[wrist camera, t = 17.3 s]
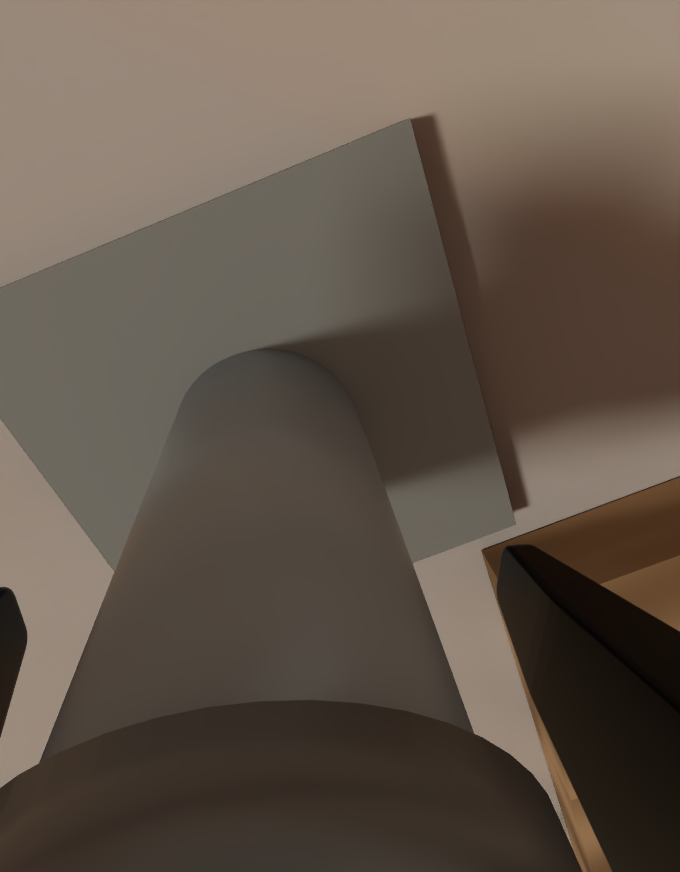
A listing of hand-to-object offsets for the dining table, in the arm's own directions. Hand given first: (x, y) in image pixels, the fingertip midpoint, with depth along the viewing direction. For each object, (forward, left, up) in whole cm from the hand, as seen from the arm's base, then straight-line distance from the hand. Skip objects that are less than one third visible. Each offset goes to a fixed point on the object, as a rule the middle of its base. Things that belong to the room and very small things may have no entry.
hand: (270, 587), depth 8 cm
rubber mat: (0, 0, -6) cm, 6 cm away
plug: (0, 0, -5) cm, 5 cm away
